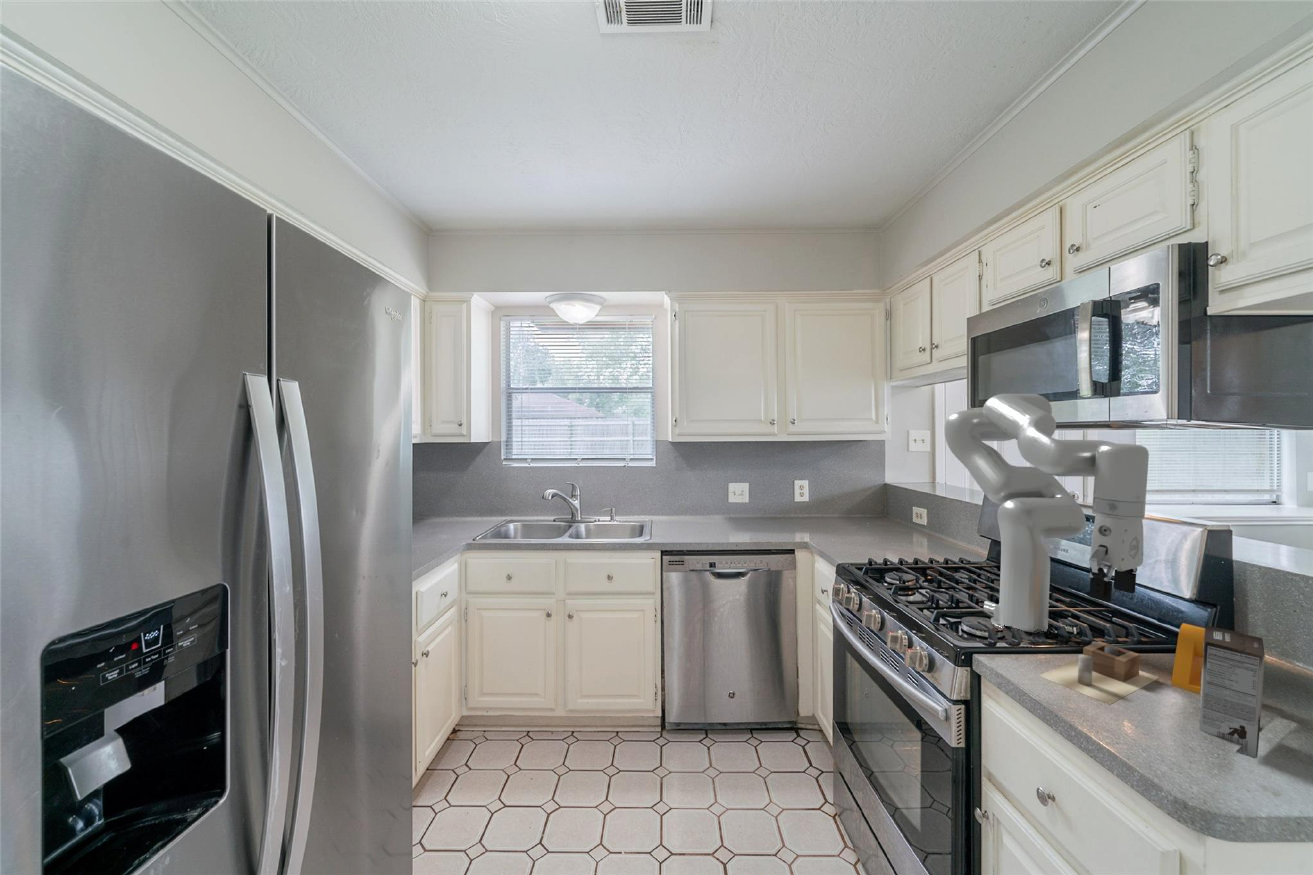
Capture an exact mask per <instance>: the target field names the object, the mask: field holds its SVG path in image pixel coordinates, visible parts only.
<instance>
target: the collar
mask: <svg viewBox="0 0 1313 875" xmlns="http://www.w3.org/2000/svg"><path fill="white" fill-rule="evenodd" d="M1105 646H1110V647H1114V648H1116V649H1118V656H1115V655H1112V654H1109V653H1106V652H1104V650H1105ZM1082 655H1087V656H1090V657H1092V658H1093V668H1092V671H1093V672H1096V673H1099V674H1101V675H1104V676H1107V677H1110V678H1112V679H1115V680H1118V681H1120V682H1125V681H1127V680H1129V679H1131V678H1133V677H1135V676H1137V675H1139V670H1140V662H1141V660H1140V659H1141V654H1140V653H1137V652H1134V651H1131V650H1128V649H1126V648H1121V647H1119V646H1115V645H1112V644H1109V643H1106V642H1103V641H1100V640H1099V641H1096V642H1093V643H1090V644H1089V645H1087V646H1084V647H1083V648H1082Z"/></svg>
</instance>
